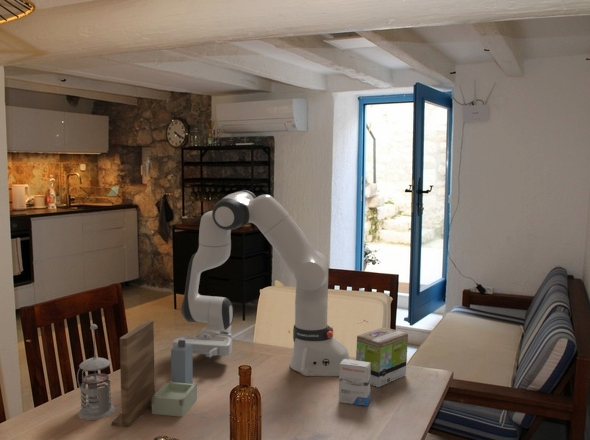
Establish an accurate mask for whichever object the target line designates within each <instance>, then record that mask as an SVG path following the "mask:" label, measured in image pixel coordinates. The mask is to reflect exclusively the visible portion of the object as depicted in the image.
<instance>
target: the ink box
mask: <svg viewBox="0 0 590 440" xmlns="http://www.w3.org/2000/svg"><path fill="white" fill-rule="evenodd" d="M349 359H350V358H349ZM349 359H343V360H342V361H341V363H340V364H339V376H338V403H341V402H342V404H348V403H349V404H348V405H355V404H356V405H357V406H361V405H363V407H367V406H368V405H369V404H370V401H371V385H370V376H371V362H364V361H356V359H355V360H354V359H352V360H349ZM356 405H355V406H356Z"/></svg>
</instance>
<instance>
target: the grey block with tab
mask: <svg viewBox="0 0 590 440" xmlns="http://www.w3.org/2000/svg"><path fill="white" fill-rule="evenodd" d="M170 363H171V364H170V370H171V371H170V374H171V377H170V379H171V381H170V382H178V383H189V384H194V381H193V380H194V376H193V373H194V372H193V370H194V369H193V365H194V363H193V353H192V344H185V340H178V344H177V345H176V346H175V347H173V348H172V347H171V349H170Z"/></svg>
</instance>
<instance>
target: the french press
mask: <svg viewBox="0 0 590 440" xmlns="http://www.w3.org/2000/svg"><path fill="white" fill-rule="evenodd" d="M89 329H90V330H93V331H95V330H96V329H98V325H97V324H95V323H92V324H91V325H90V327H89ZM95 339H96V337H95V333H93V357H90V358H88V359H85V360H84V361H82V362H81V363H80V364H79V365H78V367H79V369H78V371H77V373H76V376H77V378H76V379H77V380H76V381H77V385H78V387H79V389H80V400H81V401H80V405H81V406H80V407H81V409H80V410H79V411H78V412H77V417H78V418H80V419H81V420H88V421H91V420H93V421H95V420H101V419H103V418H107V417H109V416H110V415H112V414H114V412H115V407H114V406H113V405H112V401H111V399H112V398H111V394H112V393H111V380H110V376H109V375H108V374H106V373H97V371H100V370H102V371H103V370H105V369H107V368H108V367H109V366H110V365H111V361H110V360H108V359H106V358H104V357H96V344H95V343H96V340H95ZM80 370H82V371H81V373H82V374H81V382H82V383H80V382H79V374H80V373H79V372H80ZM84 372H94V373H92V374H87V375H85V376H84ZM105 383H106V384H105ZM87 396H88V397H87Z"/></svg>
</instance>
